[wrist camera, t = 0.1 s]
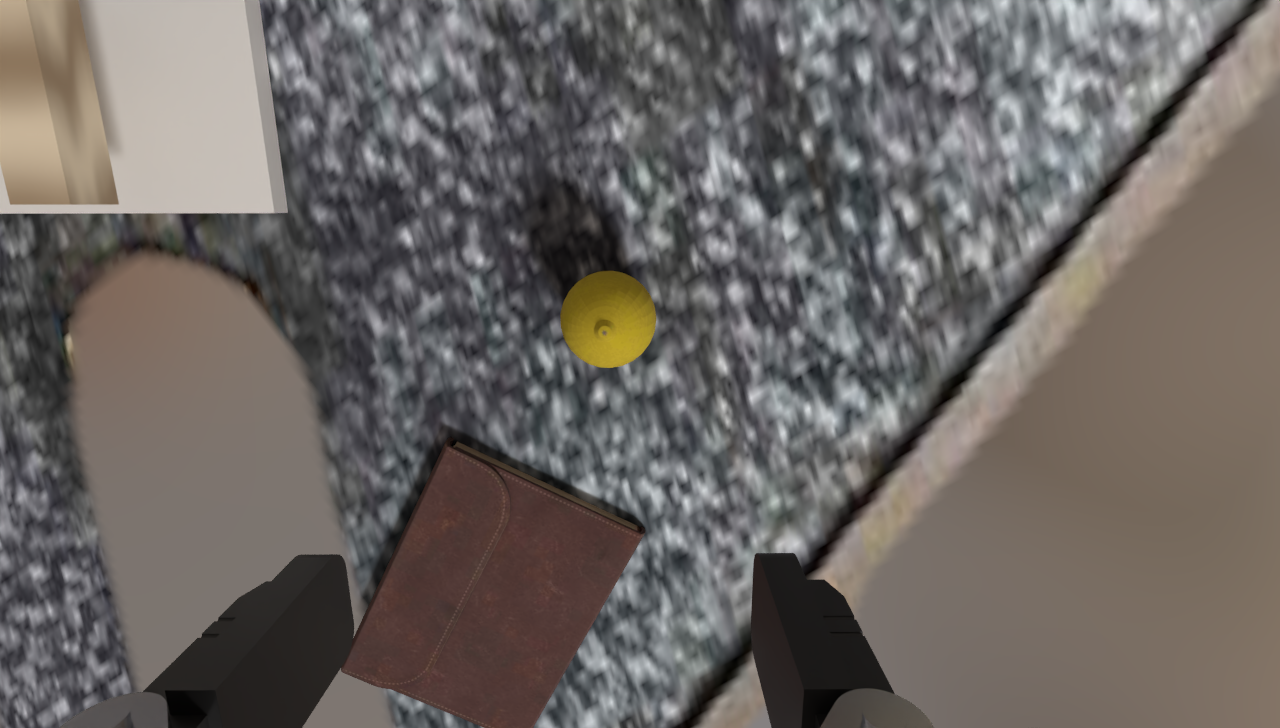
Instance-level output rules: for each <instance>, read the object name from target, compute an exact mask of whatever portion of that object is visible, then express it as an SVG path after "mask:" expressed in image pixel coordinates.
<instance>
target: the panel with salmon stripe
mask: <svg viewBox="0 0 1280 728" xmlns="http://www.w3.org/2000/svg"><path fill="white" fill-rule="evenodd" d="M78 1H79V6H80V11H81V16H82V21H83V26H84V31H85V36H86V41H87V46H88V51H89V56H90V61H91V66H92V71H93V76H94V81H95V86H96V91H97V96H98V101H99V106H100V111H101V116H102V121H103V126H104V131H105V136H106V141H107V146H108V151H109V156H110V161H111V166H112V171H113V176H114V181H115V186H116V191H117V196H118V201H119V204H118V205H10V202H9V198H8V194H7V190H6V185H5V181H4V177H3V173H2V169H1V165H0V213H288V209H287V202H286V194H285V187H284V180H283V172H282V165H281V158H280V150H279V143H278V135H277V128H276V121H275V113H274V106H273V99H272V91H271V84H270V77H269V69H268V62H267V55H266V47H265V40H264V33H263V25H262V18H261V10H260V3H259V0H78Z"/></svg>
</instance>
